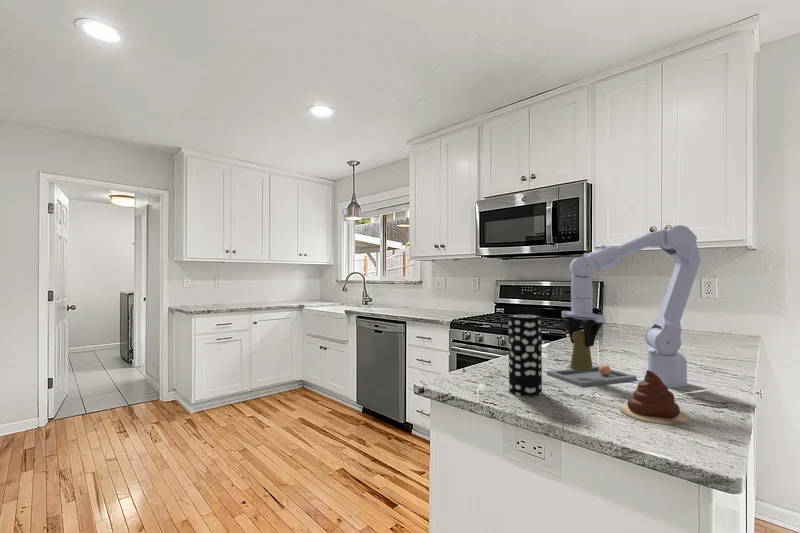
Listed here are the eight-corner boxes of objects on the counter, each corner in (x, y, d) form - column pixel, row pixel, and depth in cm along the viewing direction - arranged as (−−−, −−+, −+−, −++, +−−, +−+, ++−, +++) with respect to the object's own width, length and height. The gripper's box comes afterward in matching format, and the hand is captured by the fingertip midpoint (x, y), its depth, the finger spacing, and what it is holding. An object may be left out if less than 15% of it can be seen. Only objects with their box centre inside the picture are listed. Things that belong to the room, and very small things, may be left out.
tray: (597, 370, 132) (597, 365, 132) (636, 381, 119) (636, 376, 119) (546, 376, 125) (546, 371, 125) (581, 388, 112) (581, 383, 112)
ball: (604, 373, 126) (604, 363, 126) (613, 376, 123) (613, 365, 123) (596, 374, 125) (596, 364, 125) (605, 377, 122) (604, 366, 122)
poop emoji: (630, 416, 90) (630, 373, 90) (624, 404, 98) (624, 364, 98) (685, 421, 86) (684, 376, 86) (673, 408, 94) (673, 367, 94)
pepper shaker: (595, 371, 117) (596, 332, 118) (573, 370, 118) (573, 331, 118) (588, 367, 123) (588, 330, 124) (567, 366, 124) (567, 329, 124)
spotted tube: (547, 391, 109) (546, 315, 110) (533, 398, 103) (532, 318, 103) (518, 385, 115) (517, 313, 115) (503, 392, 109) (502, 316, 109)
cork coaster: (647, 401, 100) (647, 400, 100) (702, 419, 88) (702, 418, 88) (606, 408, 96) (606, 406, 96) (658, 428, 84) (658, 426, 84)
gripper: (553, 297, 126) (553, 341, 126) (590, 300, 113) (590, 349, 113) (571, 296, 129) (572, 340, 129) (609, 299, 115) (610, 348, 115)
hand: (582, 344), depth 121 cm, fingers closed on pepper shaker, 5 cm apart
